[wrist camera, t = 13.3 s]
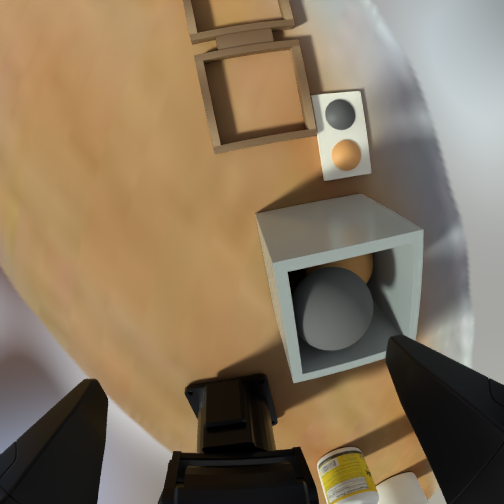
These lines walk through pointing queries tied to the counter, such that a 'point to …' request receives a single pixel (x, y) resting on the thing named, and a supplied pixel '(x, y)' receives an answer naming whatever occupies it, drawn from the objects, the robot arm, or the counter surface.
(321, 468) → the supplement bottle
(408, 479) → the pill bottle
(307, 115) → the holder
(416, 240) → the grey open box
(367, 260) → the orange ball
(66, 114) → the counter surface
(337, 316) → the gray ball
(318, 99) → the card
